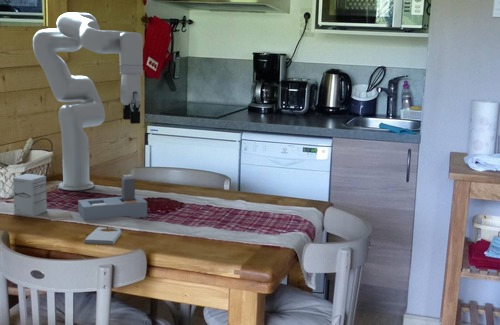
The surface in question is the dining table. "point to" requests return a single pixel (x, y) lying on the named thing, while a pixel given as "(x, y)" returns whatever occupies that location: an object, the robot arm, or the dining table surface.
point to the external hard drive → (103, 236)
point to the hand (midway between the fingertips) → (131, 121)
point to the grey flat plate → (60, 216)
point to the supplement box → (29, 194)
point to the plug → (128, 188)
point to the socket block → (112, 208)
